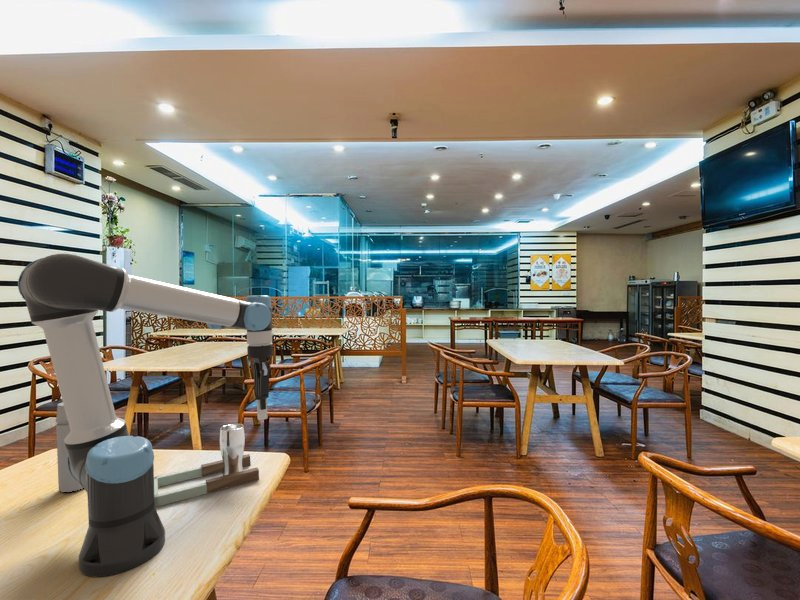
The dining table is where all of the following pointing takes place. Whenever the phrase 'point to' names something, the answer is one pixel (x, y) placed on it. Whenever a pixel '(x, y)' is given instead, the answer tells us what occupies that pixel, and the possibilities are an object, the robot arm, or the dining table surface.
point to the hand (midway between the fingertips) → (262, 418)
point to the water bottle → (64, 453)
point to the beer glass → (232, 447)
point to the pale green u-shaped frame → (179, 493)
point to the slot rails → (228, 479)
